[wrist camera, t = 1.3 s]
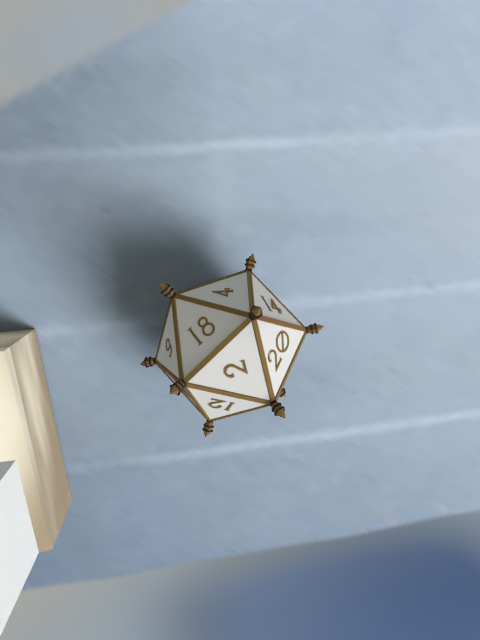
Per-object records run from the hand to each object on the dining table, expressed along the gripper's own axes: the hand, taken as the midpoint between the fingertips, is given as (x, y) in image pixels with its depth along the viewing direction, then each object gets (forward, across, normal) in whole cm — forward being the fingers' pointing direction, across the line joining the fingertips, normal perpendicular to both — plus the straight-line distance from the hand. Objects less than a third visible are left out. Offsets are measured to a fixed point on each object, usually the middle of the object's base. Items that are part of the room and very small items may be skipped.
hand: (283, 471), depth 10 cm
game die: (+15, 0, 0) cm, 15 cm away
